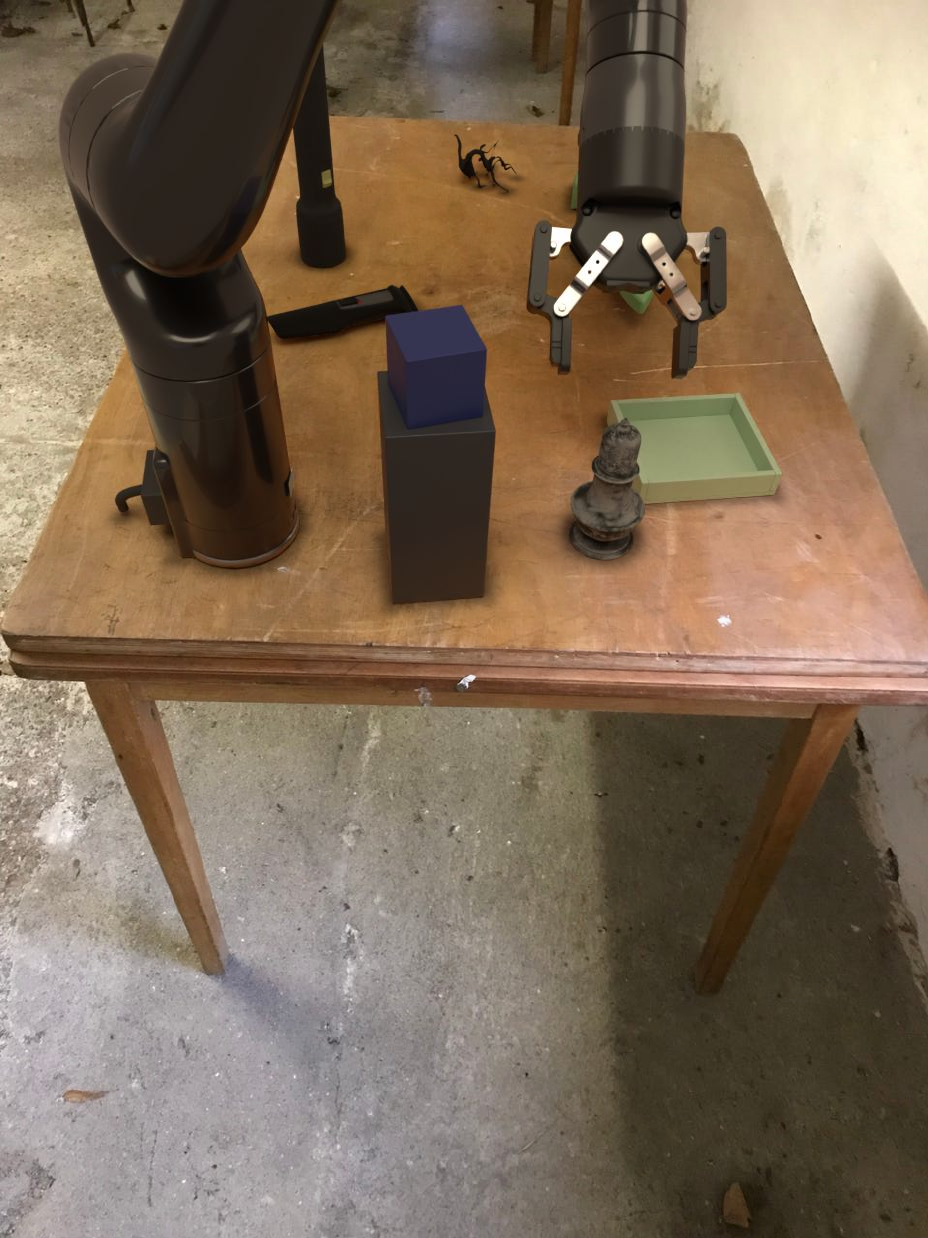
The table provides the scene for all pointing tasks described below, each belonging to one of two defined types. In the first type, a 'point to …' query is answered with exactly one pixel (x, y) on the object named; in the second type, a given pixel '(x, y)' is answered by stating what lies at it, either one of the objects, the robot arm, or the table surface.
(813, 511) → the table surface
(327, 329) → the electric trimmer
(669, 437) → the pale tray
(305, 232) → the flashlight
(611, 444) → the dark grey chess piece
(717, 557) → the table surface
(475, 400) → the navy block
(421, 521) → the dark stand
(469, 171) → the creature
